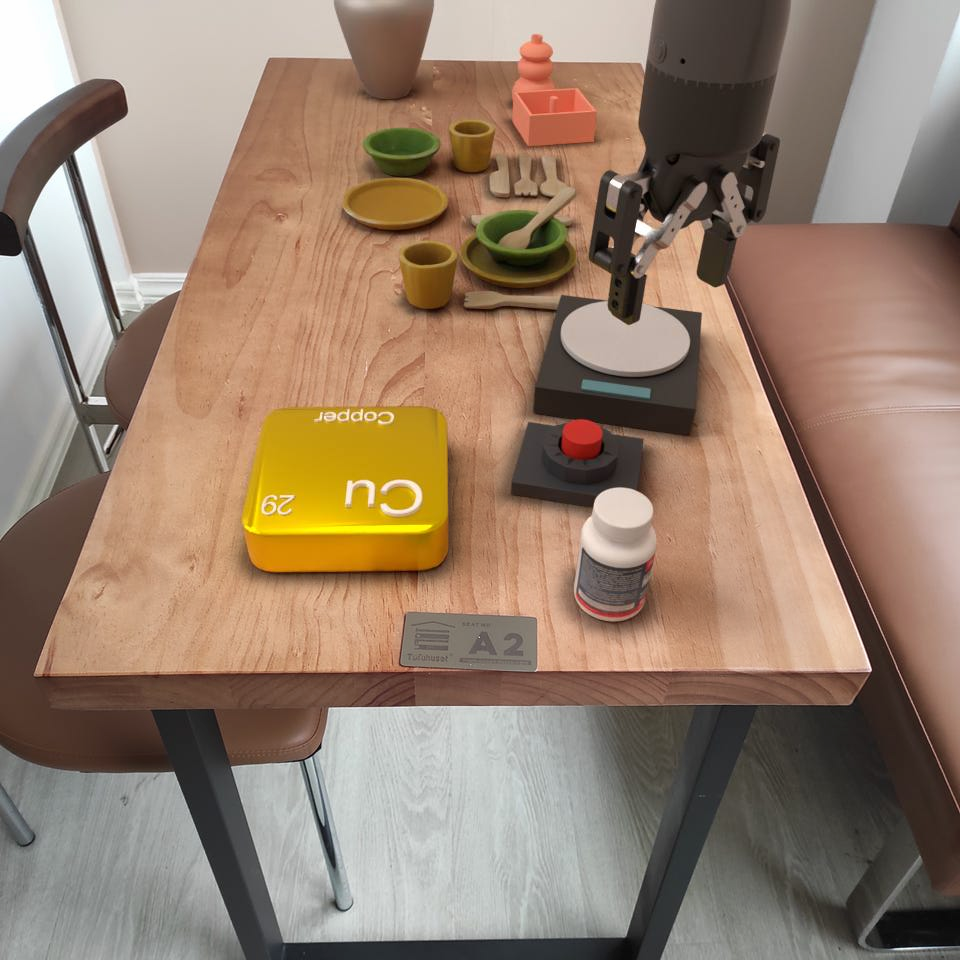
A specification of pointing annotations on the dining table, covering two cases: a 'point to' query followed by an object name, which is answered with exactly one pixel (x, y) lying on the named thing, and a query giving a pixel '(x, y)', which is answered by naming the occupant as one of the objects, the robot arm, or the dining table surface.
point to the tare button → (581, 439)
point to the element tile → (349, 490)
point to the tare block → (574, 467)
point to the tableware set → (499, 237)
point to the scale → (621, 367)
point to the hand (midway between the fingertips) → (668, 299)
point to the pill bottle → (616, 555)
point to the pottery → (548, 102)
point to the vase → (385, 41)
